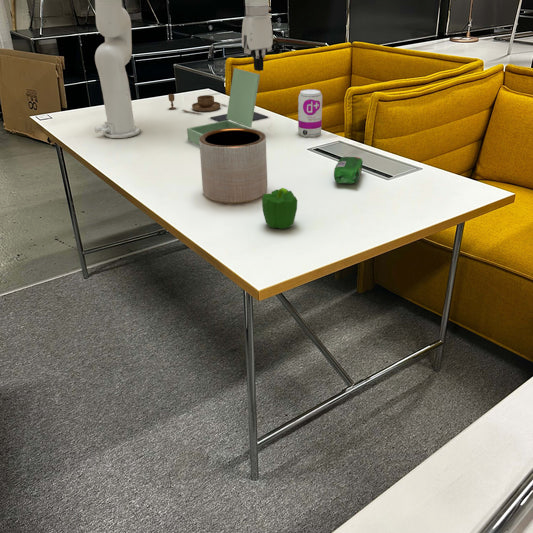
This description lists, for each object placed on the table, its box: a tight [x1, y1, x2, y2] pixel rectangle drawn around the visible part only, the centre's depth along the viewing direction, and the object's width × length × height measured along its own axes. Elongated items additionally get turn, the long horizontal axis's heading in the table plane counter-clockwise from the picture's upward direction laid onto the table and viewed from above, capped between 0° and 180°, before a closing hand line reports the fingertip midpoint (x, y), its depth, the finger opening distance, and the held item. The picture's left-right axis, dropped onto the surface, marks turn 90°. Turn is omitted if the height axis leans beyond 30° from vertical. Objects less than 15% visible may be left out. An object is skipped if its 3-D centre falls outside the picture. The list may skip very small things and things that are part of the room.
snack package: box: [333, 156, 364, 185], centre depth 159 cm, size 7×16×5 cm, turn 165°
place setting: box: [167, 93, 227, 115], centre depth 235 cm, size 18×20×6 cm
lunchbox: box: [186, 120, 250, 146], centre depth 192 cm, size 17×15×5 cm
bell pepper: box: [261, 187, 298, 230], centre depth 132 cm, size 8×8×10 cm
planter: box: [199, 127, 268, 205], centre depth 149 cm, size 18×18×16 cm
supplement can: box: [297, 88, 323, 138], centre depth 196 cm, size 8×8×15 cm
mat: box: [210, 111, 269, 122], centre depth 220 cm, size 18×14×1 cm
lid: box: [226, 67, 261, 129], centre depth 192 cm, size 17×15×1 cm
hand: (258, 70), depth 191 cm, fingers closed
